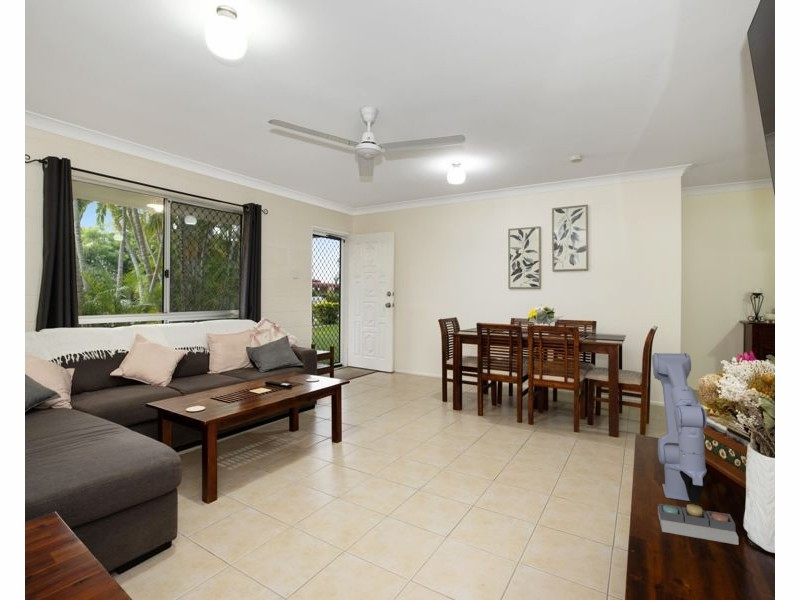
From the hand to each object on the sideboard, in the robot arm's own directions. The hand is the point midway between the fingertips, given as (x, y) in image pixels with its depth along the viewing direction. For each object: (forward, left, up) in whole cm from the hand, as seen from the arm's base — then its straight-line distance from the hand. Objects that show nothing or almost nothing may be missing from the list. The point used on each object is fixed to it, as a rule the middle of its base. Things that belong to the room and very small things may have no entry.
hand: (694, 501), depth 111 cm
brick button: (0, +5, -5) cm, 7 cm away
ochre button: (0, 0, -4) cm, 4 cm away
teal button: (0, -5, -5) cm, 7 cm away
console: (0, 0, -7) cm, 7 cm away
